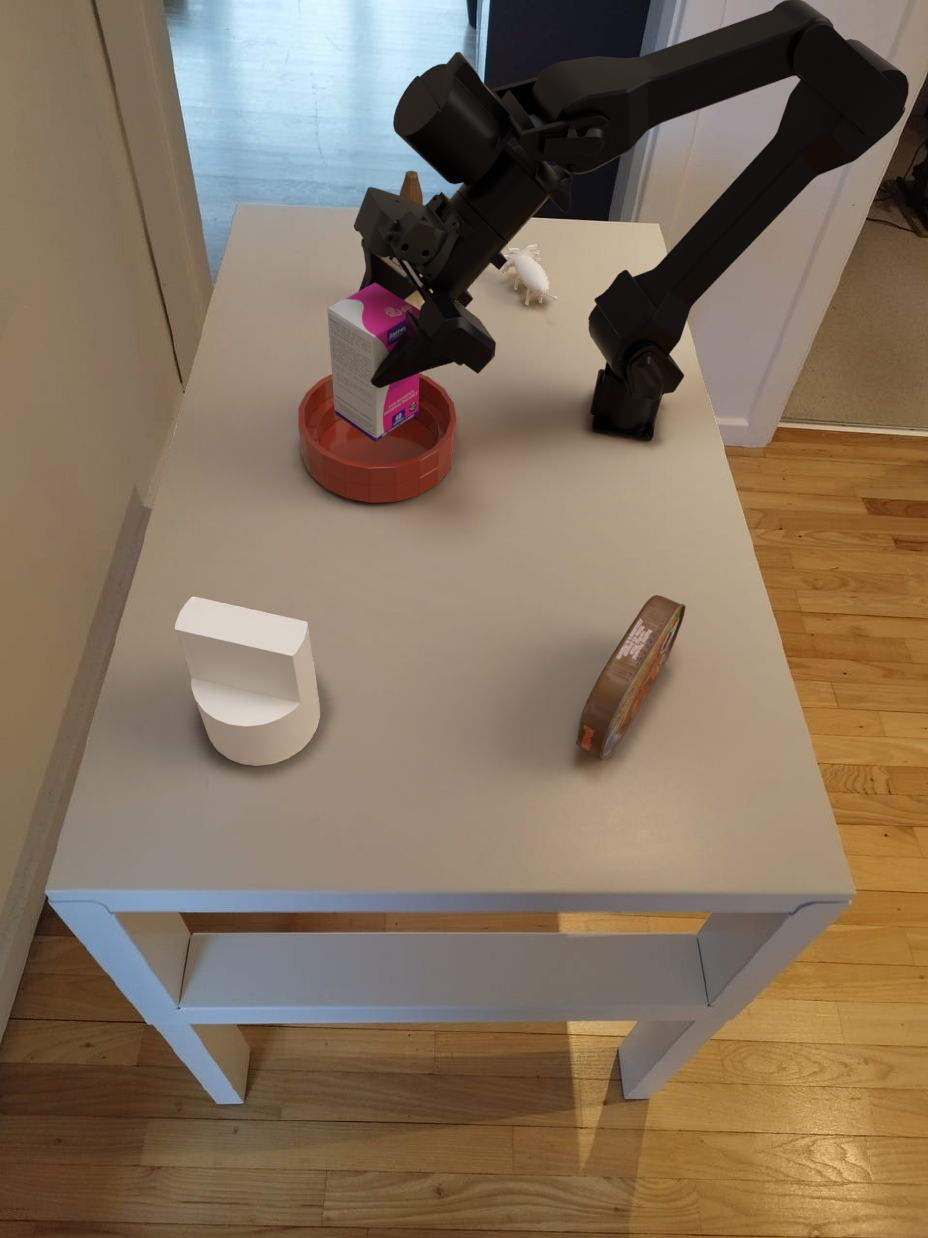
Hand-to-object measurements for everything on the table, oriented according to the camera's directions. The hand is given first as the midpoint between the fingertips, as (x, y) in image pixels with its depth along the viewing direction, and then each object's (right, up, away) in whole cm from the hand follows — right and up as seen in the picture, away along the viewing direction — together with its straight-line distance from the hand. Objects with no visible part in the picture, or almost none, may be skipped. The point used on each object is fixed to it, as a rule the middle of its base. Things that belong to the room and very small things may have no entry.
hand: (360, 359), depth 77 cm
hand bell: (+2, +14, +28) cm, 31 cm away
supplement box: (+1, -4, +6) cm, 7 cm away
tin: (+22, -30, -4) cm, 37 cm away
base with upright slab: (-7, -31, -7) cm, 32 cm away
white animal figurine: (+17, +16, +30) cm, 38 cm away
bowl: (0, -6, +12) cm, 14 cm away
